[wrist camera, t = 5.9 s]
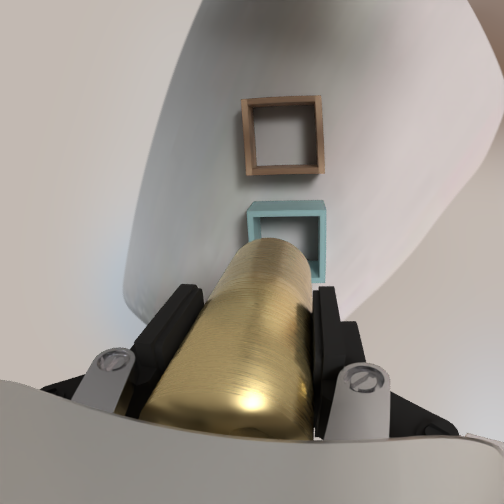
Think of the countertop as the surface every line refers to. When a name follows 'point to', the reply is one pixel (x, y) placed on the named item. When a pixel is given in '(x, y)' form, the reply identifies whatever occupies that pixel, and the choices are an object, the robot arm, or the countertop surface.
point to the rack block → (293, 209)
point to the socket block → (250, 135)
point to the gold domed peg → (246, 352)
